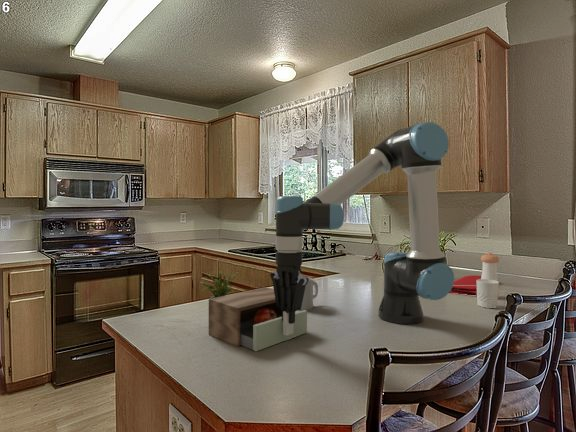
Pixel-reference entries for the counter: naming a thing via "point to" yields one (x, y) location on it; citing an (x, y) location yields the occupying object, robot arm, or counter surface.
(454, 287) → the dish drying mat
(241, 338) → the drawer
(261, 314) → the pomegranate
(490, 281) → the white cup
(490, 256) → the pepper shaker
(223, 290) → the house plant
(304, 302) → the mug
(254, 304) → the cabinet box
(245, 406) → the counter surface
